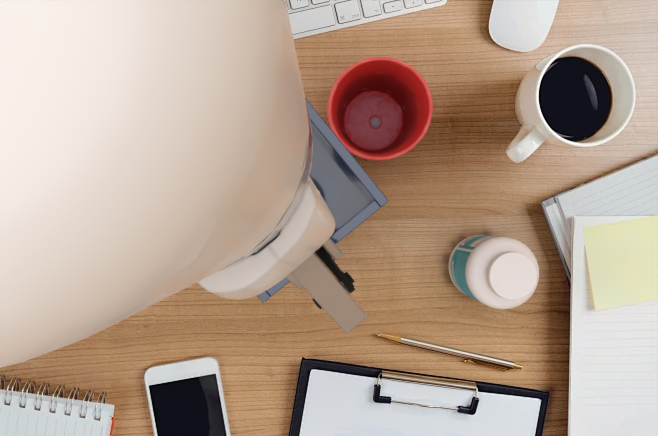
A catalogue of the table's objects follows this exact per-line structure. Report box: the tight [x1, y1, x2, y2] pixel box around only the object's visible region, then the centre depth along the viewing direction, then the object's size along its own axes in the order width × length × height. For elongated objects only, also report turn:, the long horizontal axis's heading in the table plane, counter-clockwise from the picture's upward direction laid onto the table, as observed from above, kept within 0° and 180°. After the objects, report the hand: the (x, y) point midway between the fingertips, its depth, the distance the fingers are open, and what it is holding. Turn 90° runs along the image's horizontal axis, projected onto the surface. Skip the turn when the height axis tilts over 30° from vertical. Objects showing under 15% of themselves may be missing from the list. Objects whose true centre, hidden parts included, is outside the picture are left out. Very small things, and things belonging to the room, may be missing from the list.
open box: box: [256, 98, 390, 304], centre depth 50 cm, size 13×13×5 cm
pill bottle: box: [448, 234, 540, 310], centre depth 66 cm, size 8×7×14 cm
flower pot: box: [326, 56, 434, 162], centre depth 67 cm, size 11×11×10 cm
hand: (253, 178), depth 34 cm, fingers open, 9 cm apart
